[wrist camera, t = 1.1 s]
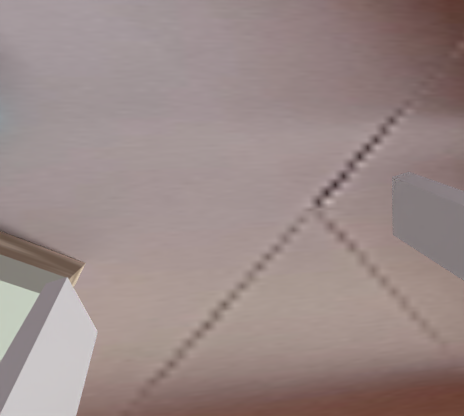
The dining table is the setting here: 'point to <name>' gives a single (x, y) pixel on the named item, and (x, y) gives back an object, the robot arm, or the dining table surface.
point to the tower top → (18, 295)
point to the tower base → (40, 257)
